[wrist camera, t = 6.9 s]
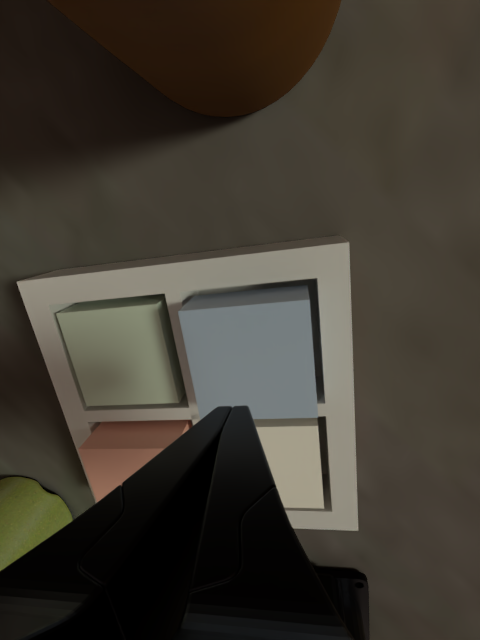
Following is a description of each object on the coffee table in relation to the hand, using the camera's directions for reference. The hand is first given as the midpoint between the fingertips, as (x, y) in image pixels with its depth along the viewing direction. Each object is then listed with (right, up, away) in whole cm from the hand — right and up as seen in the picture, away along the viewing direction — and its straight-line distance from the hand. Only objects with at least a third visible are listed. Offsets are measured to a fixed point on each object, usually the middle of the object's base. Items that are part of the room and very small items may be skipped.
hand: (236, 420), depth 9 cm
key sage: (-5, +2, +7) cm, 8 cm away
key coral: (-4, -4, +7) cm, 9 cm away
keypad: (-1, 0, +8) cm, 8 cm away
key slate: (+1, +2, +5) cm, 5 cm away
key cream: (+2, -3, +8) cm, 8 cm away
